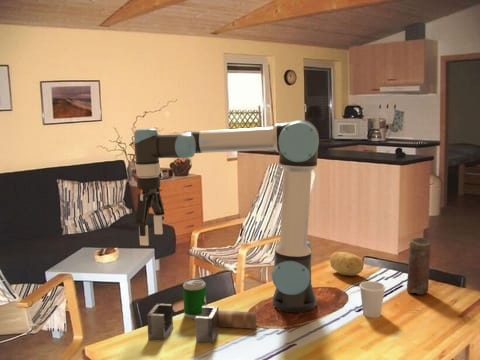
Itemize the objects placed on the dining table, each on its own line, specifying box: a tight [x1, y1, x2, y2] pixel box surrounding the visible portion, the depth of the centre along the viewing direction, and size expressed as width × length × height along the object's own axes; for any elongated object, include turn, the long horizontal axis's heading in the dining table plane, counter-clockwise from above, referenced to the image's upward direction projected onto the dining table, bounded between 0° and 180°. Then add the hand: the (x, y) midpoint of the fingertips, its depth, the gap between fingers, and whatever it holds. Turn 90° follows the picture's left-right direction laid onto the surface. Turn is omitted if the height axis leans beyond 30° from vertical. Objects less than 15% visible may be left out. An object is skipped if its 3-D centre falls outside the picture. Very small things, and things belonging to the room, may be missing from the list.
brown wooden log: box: [218, 309, 257, 330], centre depth 160 cm, size 15×5×5 cm, turn 80°
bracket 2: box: [194, 305, 220, 345], centre depth 152 cm, size 5×9×8 cm, turn 170°
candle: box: [406, 237, 432, 295], centre depth 182 cm, size 8×7×20 cm
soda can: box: [182, 278, 207, 320], centre depth 168 cm, size 8×8×12 cm
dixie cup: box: [359, 280, 387, 319], centre depth 166 cm, size 8×8×10 cm
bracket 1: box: [146, 303, 174, 342], centre depth 155 cm, size 5×9×8 cm, turn 170°
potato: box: [329, 251, 365, 277], centre depth 204 cm, size 10×14×10 cm
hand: (151, 239), depth 167 cm, fingers open, 13 cm apart
